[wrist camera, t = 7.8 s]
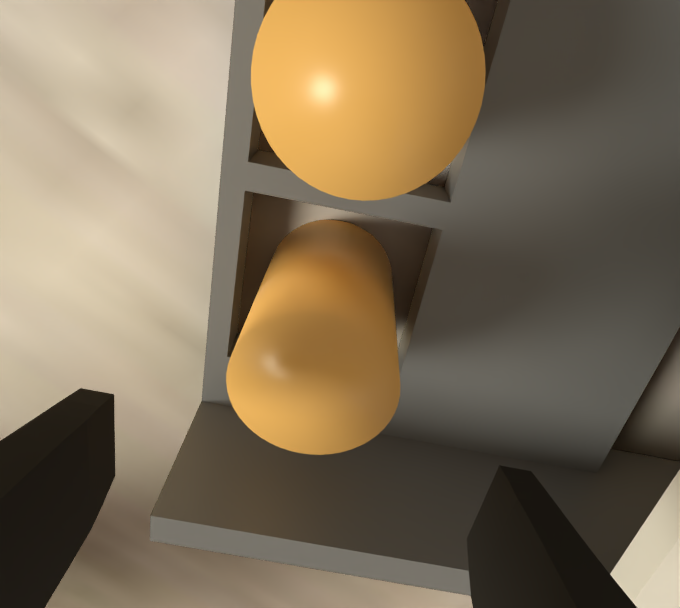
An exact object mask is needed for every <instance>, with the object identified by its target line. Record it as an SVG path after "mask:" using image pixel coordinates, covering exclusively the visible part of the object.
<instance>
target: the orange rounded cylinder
mask: <svg viewBox="0 0 680 608" xmlns="http://www.w3.org/2000/svg"><path fill="white" fill-rule="evenodd" d="M485 74H486V70H485V54H484V49H483V44H482V39H481V35H480V32H479V29H478V26H477V23H476V21H475V19H474V17H473V14H472V12H471V10H470V8H469V6H468V5H467V3H466V2H465V0H274V1H273V3H272V4H271V6H270V8H269V10H268V11H267V13H266V15H265V17H264V19H263V21H262V24H261V26H260V29H259V32H258V34H257V38H256V42H255V46H254V50H253V56H252V64H251V88H252V97H253V103H254V107H255V111H256V115H257V118H258V121H259V123H260V126H261V129H262V131H263V133H264V135H265V137H266V139H267V141H268V143H269V144H270V146H271V147H272V149H273V150H274V152H275V153H276V155H277V156H278V157H279V158H280V160H281V161H282V162H283V163H284V164H285V165H286V166H287V168H289V169H290V170H291V171H292V172H293V173H294V174H295V175H296V176H298V177H299V178H300V179H302V180H303V181H305V182H306V183H308V184H309V185H311V186H313V187H315V188H316V189H318V190H320V191H322V192H325V193H328V194H330V195H333V196H336V197H341V198H345V199H350V200H361V201H368V200H381V199H387V198H392V197H396V196H399V195H402V194H405V193H407V192H410V191H412V190H414V189H417V188H418V187H420V186H422V185H423V184H425V183H427V182H428V181H430V180H431V179H433V178H434V177H435V176H436V175H438V174H439V173H440V172H442V171H443V170H444V169H445V168H446V167H447V166H448V165H449V164H450V163H451V162H452V161H453V159H454V158H455V157H456V155H457V154H458V153H459V152H460V150H461V149H462V148H463V146H464V144H465V143H466V141H467V139H468V138H469V136H470V134H471V132H472V130H473V128H474V125H475V123H476V121H477V118H478V115H479V112H480V108H481V105H482V100H483V95H484V89H485Z"/></svg>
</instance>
